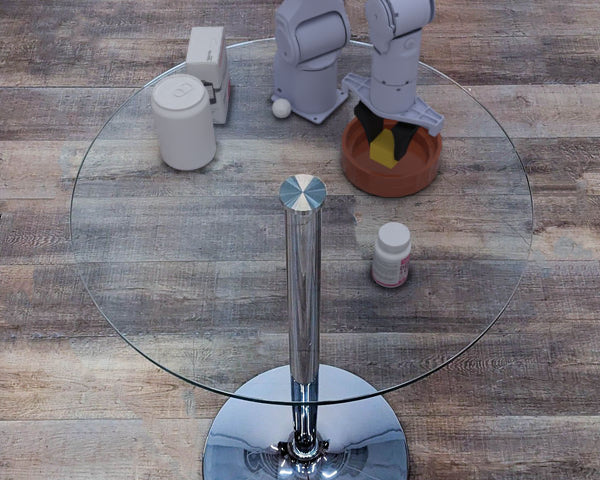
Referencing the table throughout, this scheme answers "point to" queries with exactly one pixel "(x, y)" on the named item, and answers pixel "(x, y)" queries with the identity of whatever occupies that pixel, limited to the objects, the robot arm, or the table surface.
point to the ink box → (210, 67)
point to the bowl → (380, 179)
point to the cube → (383, 149)
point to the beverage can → (183, 122)
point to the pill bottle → (391, 255)
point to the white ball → (281, 108)
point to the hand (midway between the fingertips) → (387, 150)
